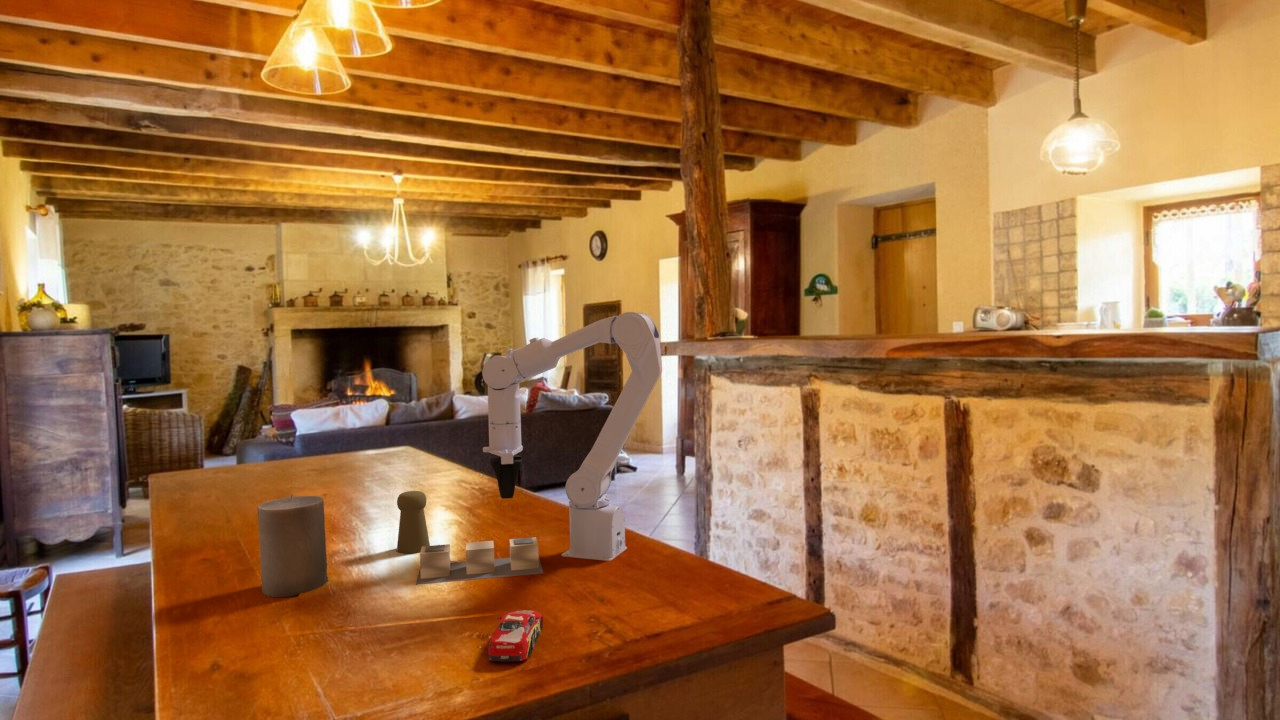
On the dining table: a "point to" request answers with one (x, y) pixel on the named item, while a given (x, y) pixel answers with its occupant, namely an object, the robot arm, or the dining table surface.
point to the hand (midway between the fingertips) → (506, 497)
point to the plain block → (480, 557)
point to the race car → (515, 636)
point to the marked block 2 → (524, 553)
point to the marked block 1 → (435, 561)
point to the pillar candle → (292, 545)
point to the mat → (460, 573)
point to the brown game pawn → (412, 522)
